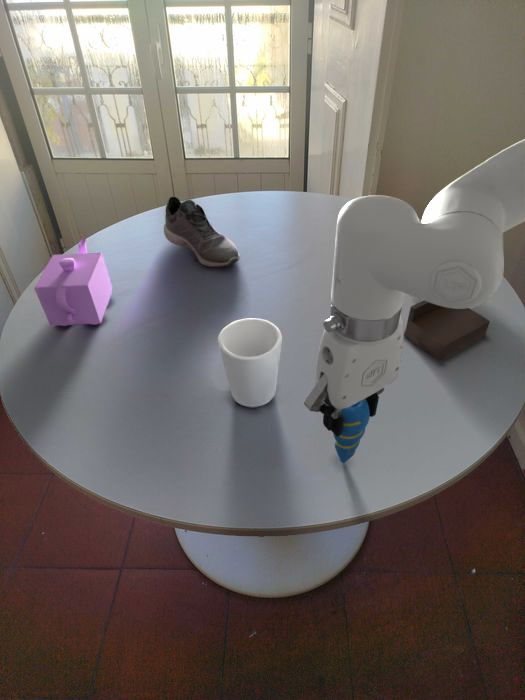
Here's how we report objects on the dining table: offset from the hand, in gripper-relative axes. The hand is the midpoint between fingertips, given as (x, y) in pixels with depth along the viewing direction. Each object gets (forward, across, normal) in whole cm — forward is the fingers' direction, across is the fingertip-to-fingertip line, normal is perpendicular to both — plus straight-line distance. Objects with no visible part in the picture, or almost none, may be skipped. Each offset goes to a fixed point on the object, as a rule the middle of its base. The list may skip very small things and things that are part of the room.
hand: (349, 418), depth 63 cm
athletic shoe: (+10, +11, +67) cm, 69 cm away
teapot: (+10, -21, +60) cm, 64 cm away
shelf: (+10, +34, +11) cm, 37 cm away
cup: (+10, -4, +19) cm, 22 cm away
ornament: (+10, 0, 0) cm, 10 cm away
